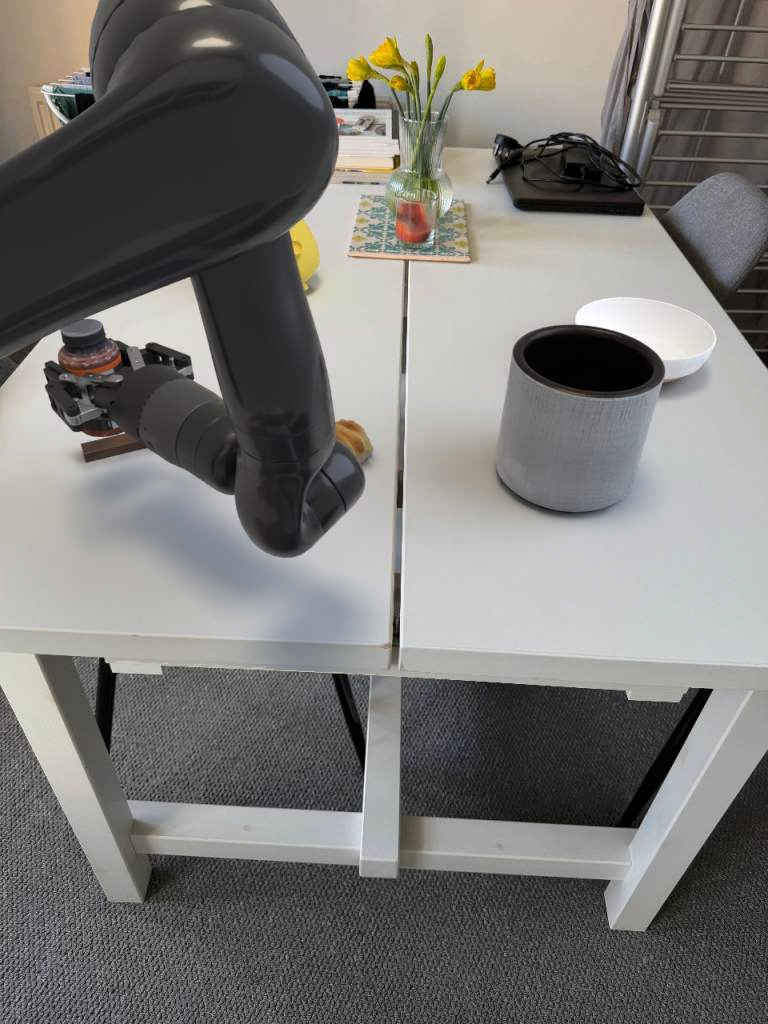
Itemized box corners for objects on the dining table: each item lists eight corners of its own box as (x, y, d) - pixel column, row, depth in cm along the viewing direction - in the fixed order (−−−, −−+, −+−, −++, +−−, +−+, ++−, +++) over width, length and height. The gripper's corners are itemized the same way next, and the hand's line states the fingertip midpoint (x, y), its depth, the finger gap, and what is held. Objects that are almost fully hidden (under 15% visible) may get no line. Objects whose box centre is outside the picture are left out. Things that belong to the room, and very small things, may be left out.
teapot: (344, 304, 120) (343, 219, 112) (252, 320, 115) (244, 232, 106) (302, 260, 134) (298, 181, 125) (219, 273, 129) (208, 191, 120)
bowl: (652, 327, 117) (662, 290, 113) (732, 388, 103) (747, 348, 99) (543, 343, 112) (549, 305, 108) (611, 409, 98) (622, 368, 94)
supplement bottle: (140, 433, 77) (116, 335, 70) (81, 445, 75) (50, 345, 68) (133, 405, 81) (109, 309, 74) (77, 415, 80) (47, 318, 72)
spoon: (89, 471, 85) (86, 462, 84) (79, 442, 89) (77, 433, 88) (273, 426, 93) (273, 416, 92) (257, 401, 97) (256, 392, 96)
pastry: (323, 491, 83) (322, 464, 81) (282, 467, 86) (279, 440, 84) (377, 455, 89) (377, 428, 86) (336, 434, 92) (335, 408, 89)
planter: (549, 421, 95) (571, 309, 85) (657, 478, 86) (697, 361, 76) (465, 470, 87) (480, 352, 77) (576, 539, 78) (609, 416, 68)
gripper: (234, 354, 68) (131, 302, 77) (98, 415, 60) (-1, 349, 69) (243, 421, 73) (145, 365, 82) (118, 487, 65) (24, 417, 73)
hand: (79, 358), depth 75 cm, fingers closed on supplement bottle, 6 cm apart
